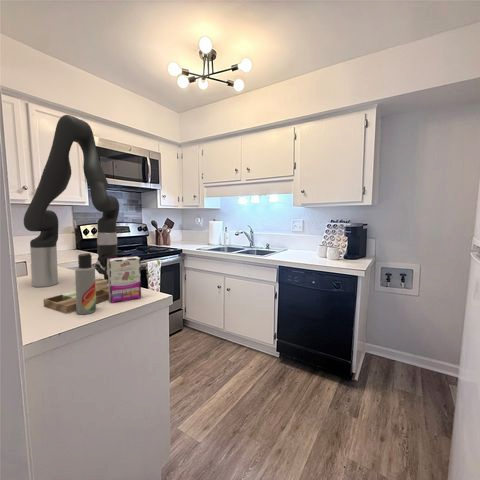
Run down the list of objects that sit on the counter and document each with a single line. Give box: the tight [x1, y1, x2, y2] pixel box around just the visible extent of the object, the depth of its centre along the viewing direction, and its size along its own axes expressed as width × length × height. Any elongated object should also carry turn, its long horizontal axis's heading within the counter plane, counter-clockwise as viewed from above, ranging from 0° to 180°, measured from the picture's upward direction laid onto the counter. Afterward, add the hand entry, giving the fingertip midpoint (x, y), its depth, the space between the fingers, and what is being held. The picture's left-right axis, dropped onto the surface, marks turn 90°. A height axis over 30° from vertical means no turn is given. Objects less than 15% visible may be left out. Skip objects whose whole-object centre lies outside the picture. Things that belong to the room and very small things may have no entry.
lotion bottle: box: [74, 252, 97, 315], centre depth 86 cm, size 6×6×20 cm
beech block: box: [95, 277, 108, 290], centre depth 105 cm, size 5×5×3 cm
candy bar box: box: [108, 256, 142, 304], centre depth 99 cm, size 11×5×16 cm, turn 126°
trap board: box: [43, 287, 109, 314], centre depth 97 cm, size 13×22×2 cm, turn 155°
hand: (108, 283), depth 109 cm, fingers closed
